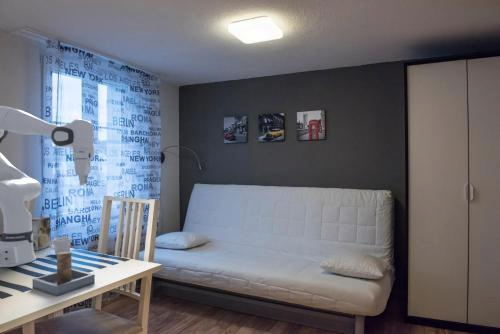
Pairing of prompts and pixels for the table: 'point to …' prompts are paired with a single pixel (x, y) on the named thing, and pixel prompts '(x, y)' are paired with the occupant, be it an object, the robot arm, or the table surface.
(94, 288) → the table surface
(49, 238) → the coffee box
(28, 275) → the table surface
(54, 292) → the box
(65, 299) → the table surface
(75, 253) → the table surface
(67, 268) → the walnut cylinder
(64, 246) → the cup
